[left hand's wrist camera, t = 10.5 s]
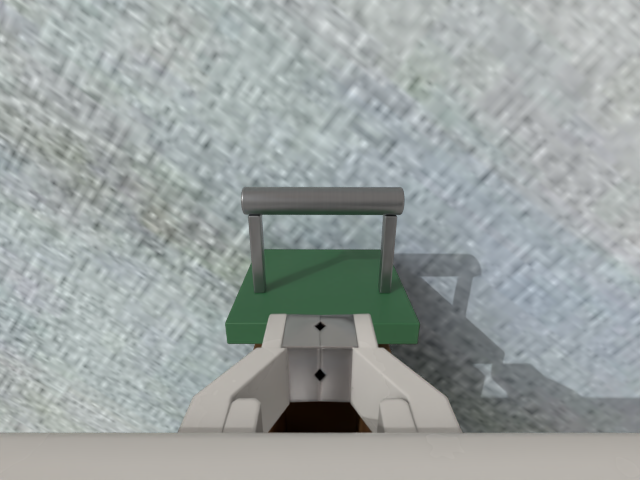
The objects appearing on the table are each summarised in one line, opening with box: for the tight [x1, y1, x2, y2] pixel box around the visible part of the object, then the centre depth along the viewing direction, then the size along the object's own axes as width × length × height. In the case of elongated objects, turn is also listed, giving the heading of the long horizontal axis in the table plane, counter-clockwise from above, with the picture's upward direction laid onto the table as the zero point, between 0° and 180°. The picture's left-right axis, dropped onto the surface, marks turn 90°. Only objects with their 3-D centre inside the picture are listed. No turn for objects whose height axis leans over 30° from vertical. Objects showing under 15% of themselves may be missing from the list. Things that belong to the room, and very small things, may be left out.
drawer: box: [225, 187, 420, 433], centre depth 22 cm, size 24×9×9 cm, turn 0°
